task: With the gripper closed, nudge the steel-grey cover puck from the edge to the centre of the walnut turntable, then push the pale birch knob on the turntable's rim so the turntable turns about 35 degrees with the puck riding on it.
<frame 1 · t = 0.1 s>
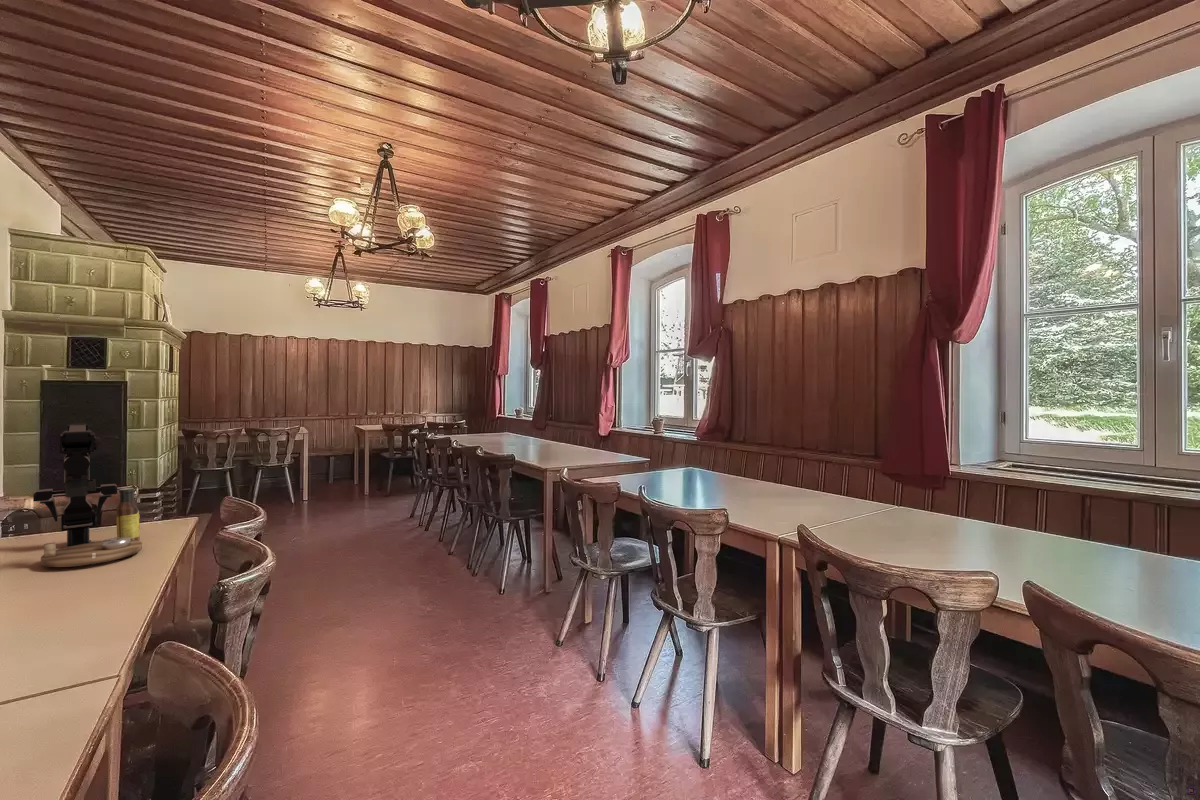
hand: (77, 519, 166), 15 cm above the table, tool pointing down, fingers open, 9 cm apart
cover puck: (116, 546, 176), point 3 cm above the table, touching turntable
sauce bottle: (128, 543, 191), on the table
turntable: (93, 546, 172), point 4 cm above the table, hinge at 0.0°, touching cover puck
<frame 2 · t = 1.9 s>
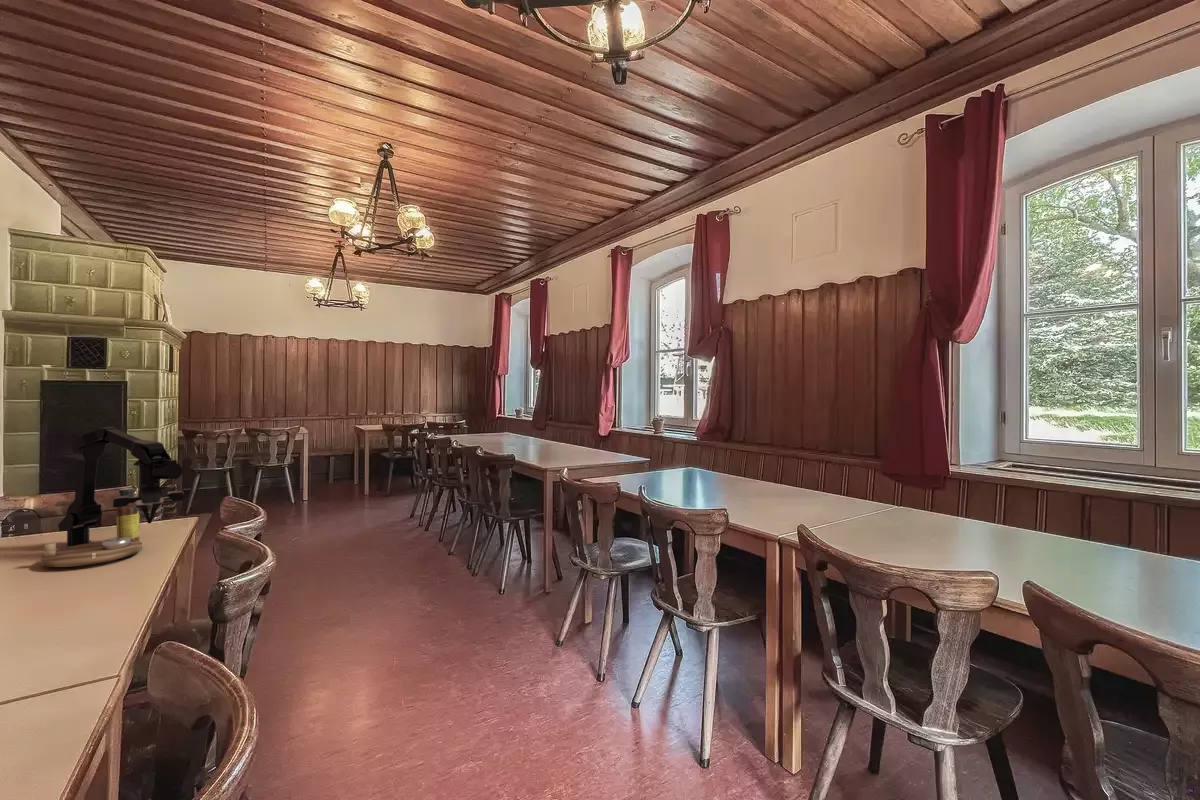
hand: (149, 523, 182), 10 cm above the table, tool pointing down, fingers closed
nothing on the table moved.
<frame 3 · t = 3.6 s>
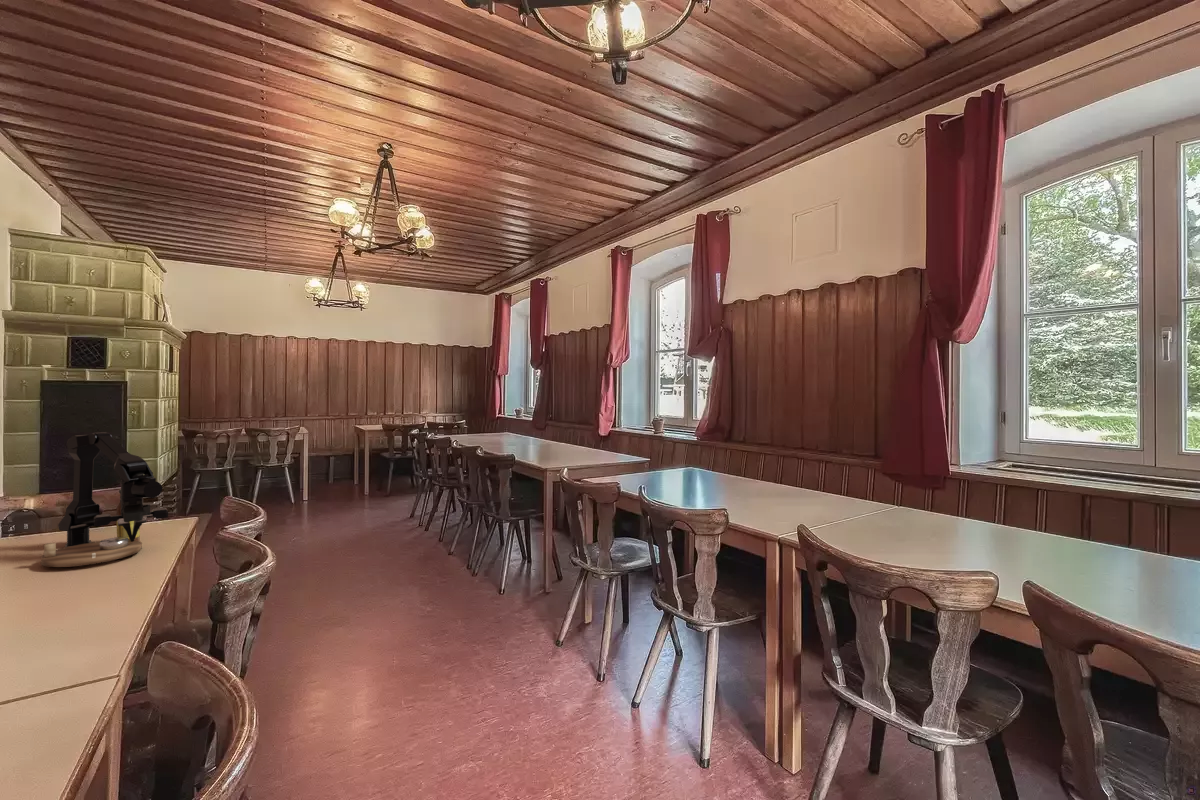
hand: (132, 541, 179), 4 cm above the table, tool pointing down, fingers closed
cover puck: (114, 547, 176), point 3 cm above the table, touching gripper, turntable
everything else where it was.
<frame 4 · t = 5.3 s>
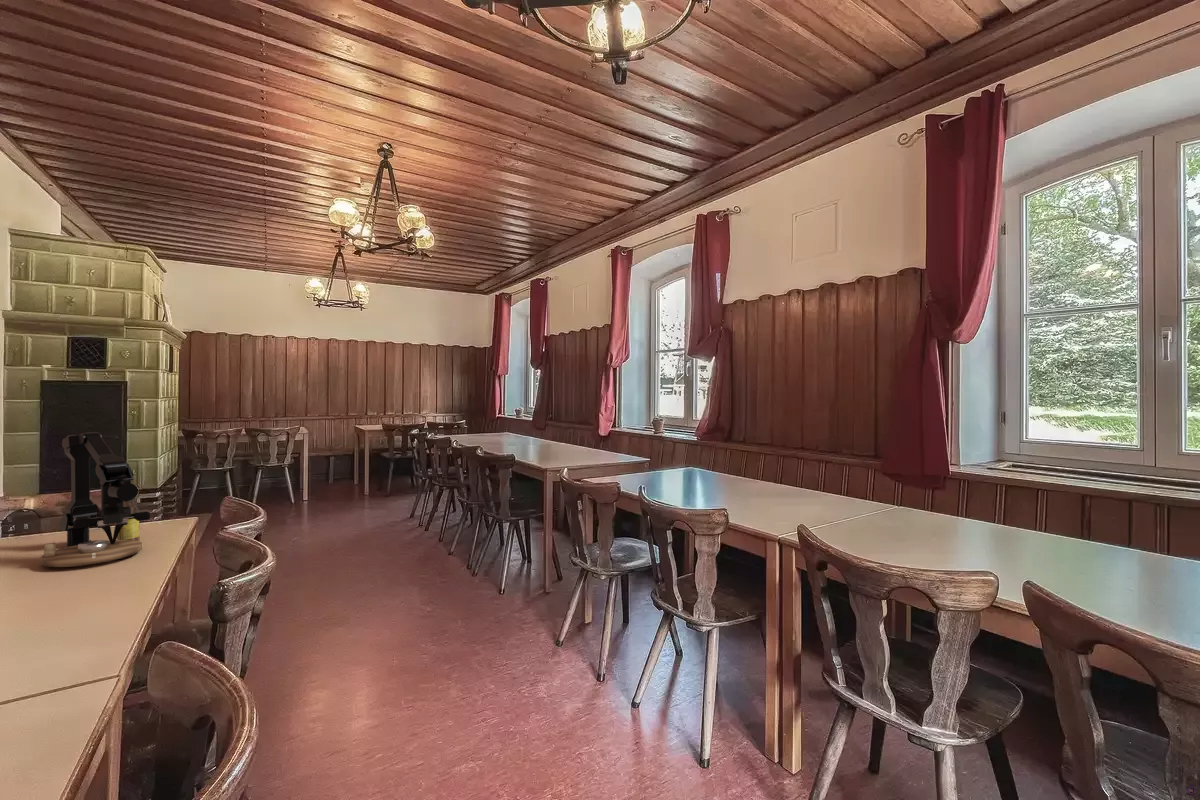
hand: (112, 544, 175), 4 cm above the table, tool pointing down, fingers closed
cover puck: (93, 550, 172), point 3 cm above the table, touching turntable
everything else where it was.
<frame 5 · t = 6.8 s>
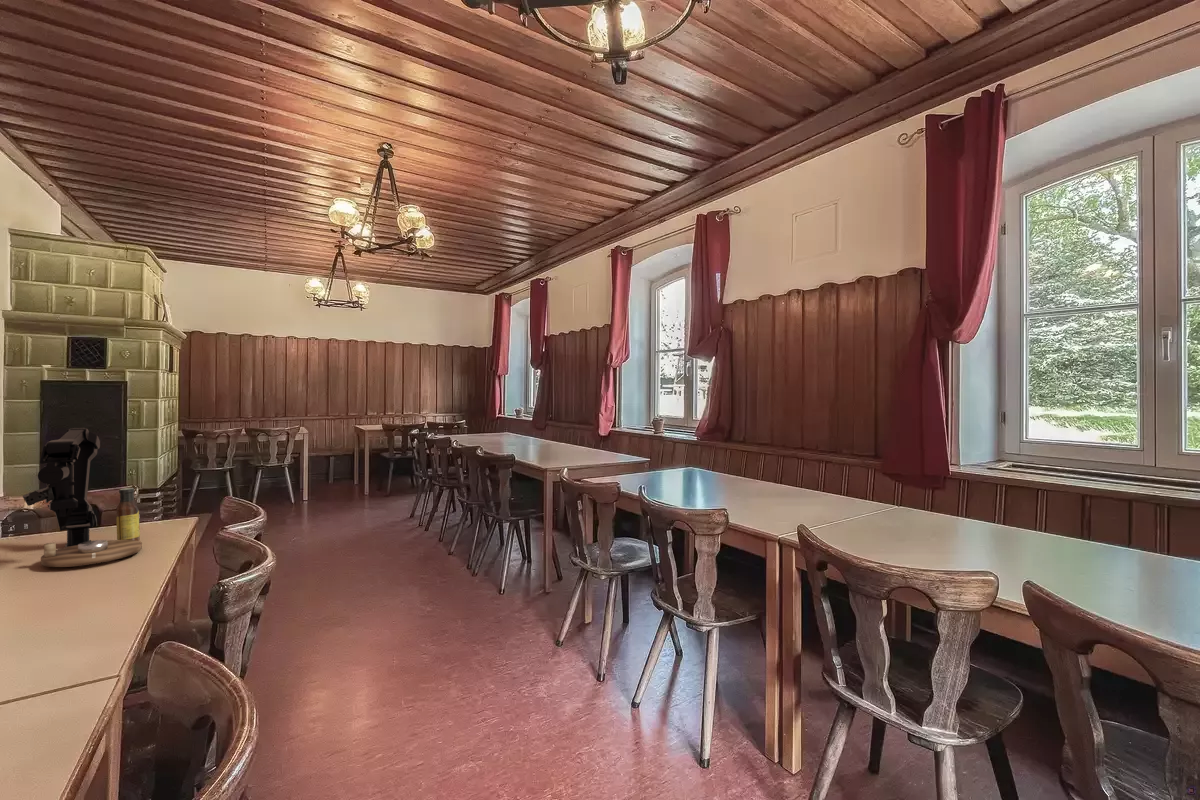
hand: (61, 526, 171), 11 cm above the table, tool pointing down, fingers closed
nothing on the table moved.
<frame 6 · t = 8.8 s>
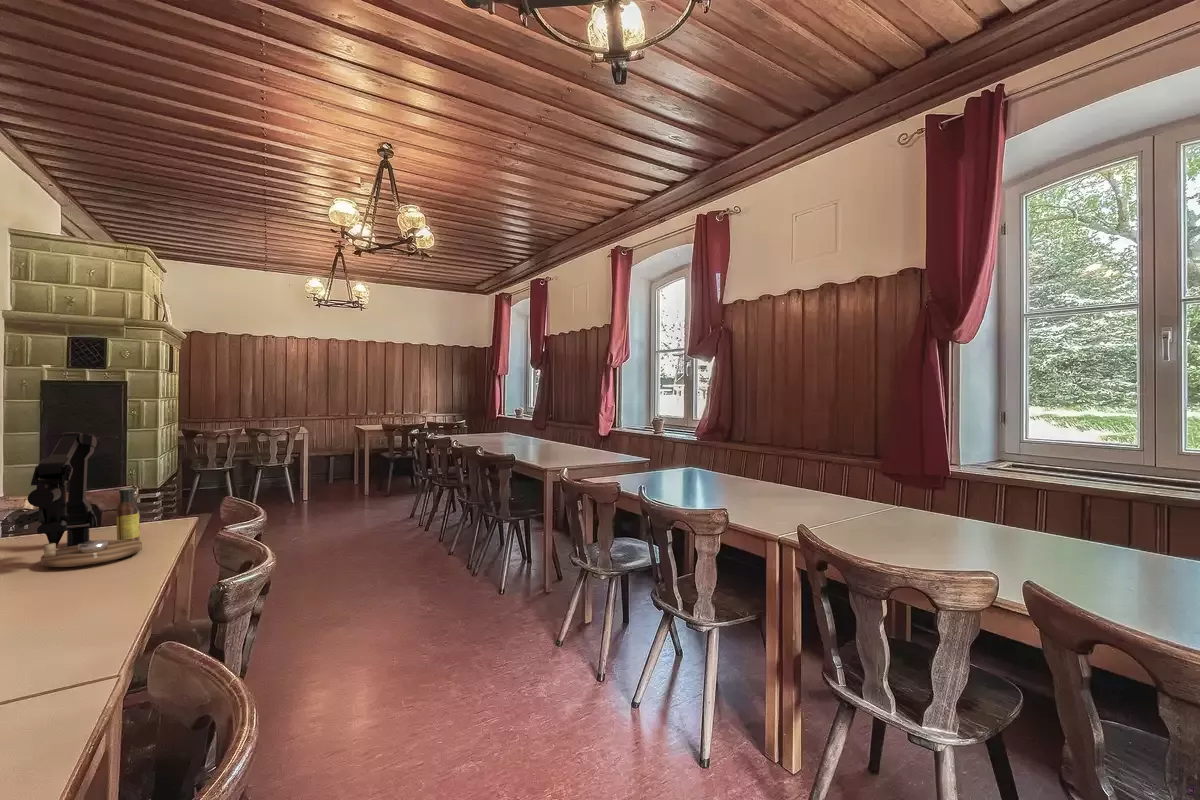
hand: (53, 548, 167), 5 cm above the table, tool pointing down, fingers closed
turntable: (93, 546, 172), point 4 cm above the table, hinge at 2.4°, touching cover puck, gripper
everything else where it was.
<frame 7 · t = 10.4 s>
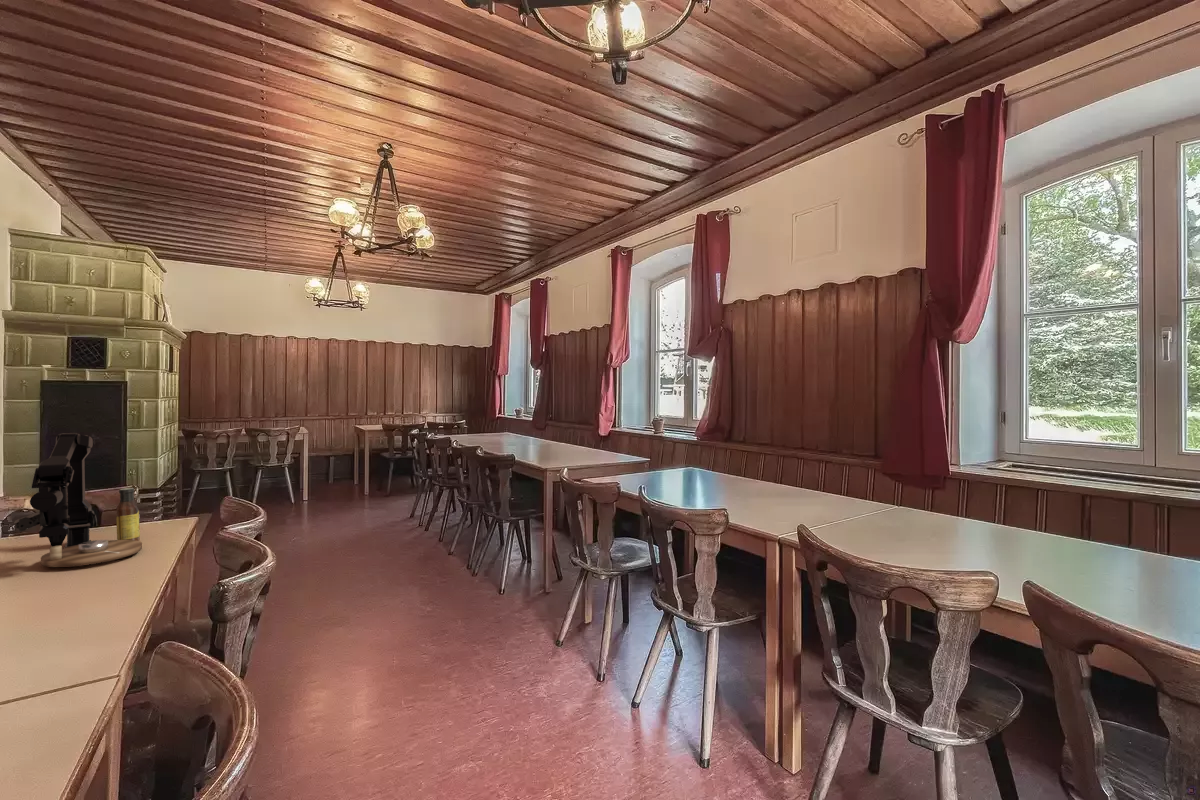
hand: (55, 551, 164), 5 cm above the table, tool pointing down, fingers closed
turntable: (93, 546, 172), point 4 cm above the table, hinge at 31.7°, touching cover puck, gripper
everything else where it was.
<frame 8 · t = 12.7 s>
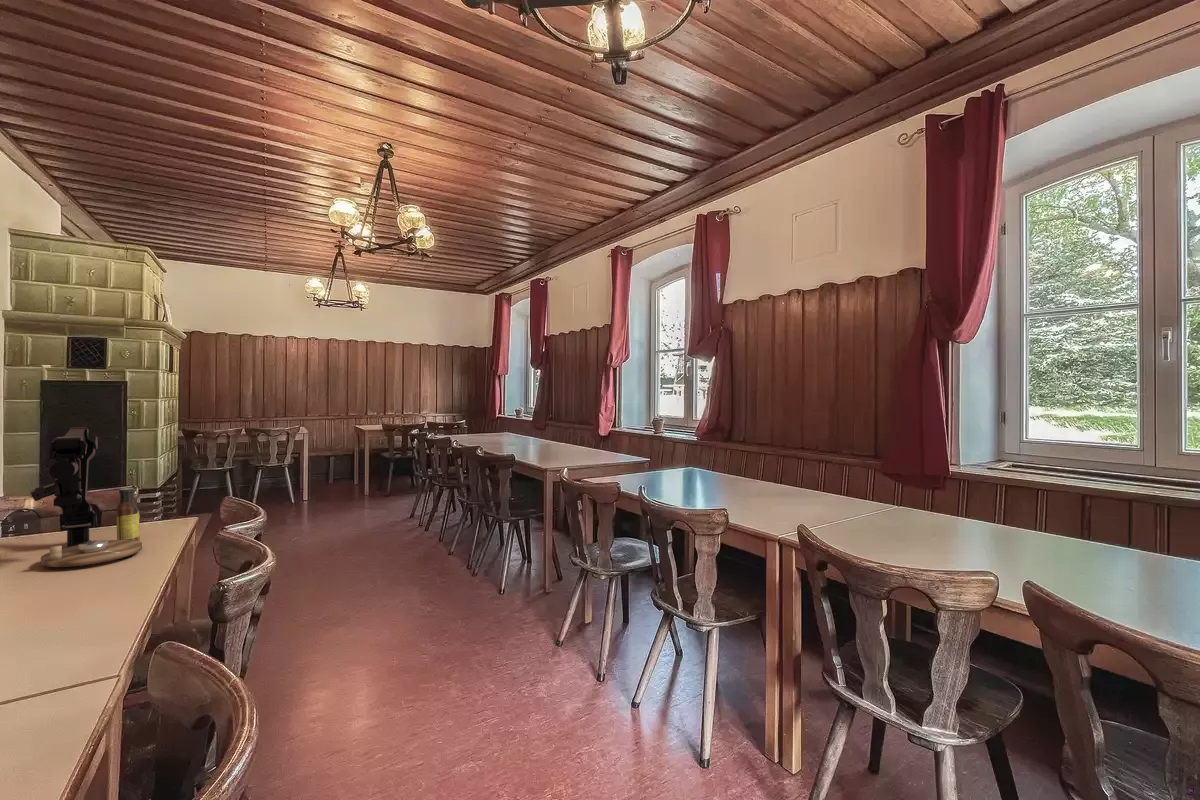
hand: (68, 522, 172), 12 cm above the table, tool pointing down, fingers closed
turntable: (93, 546, 172), point 4 cm above the table, hinge at 31.8°, touching cover puck
everything else where it was.
at the end: cover puck 0.3 cm from the turntable (horizontally); turntable at +32° (first picture: +0°); cover puck touching turntable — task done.
